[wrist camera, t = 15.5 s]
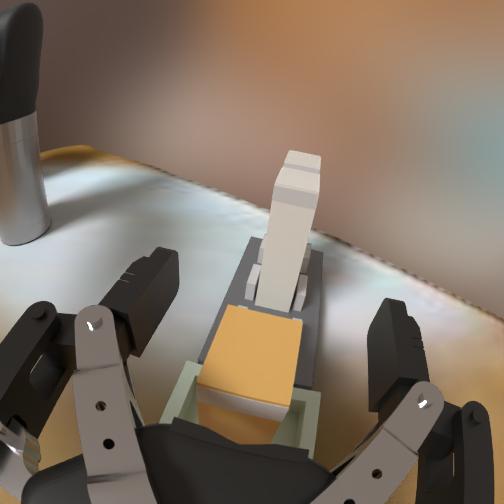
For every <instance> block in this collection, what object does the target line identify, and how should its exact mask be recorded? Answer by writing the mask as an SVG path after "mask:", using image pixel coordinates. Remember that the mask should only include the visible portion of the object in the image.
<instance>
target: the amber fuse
mask: <svg viewBox="0 0 504 504" xmlns="http://www.w3.org/2000/svg"><path fill="white" fill-rule="evenodd" d="M302 325H303V322H302V321H297V320H293V319H288V318H284V317H279V316H275V315H270V314H266V313H262V312H258V311H253V310H249V309H245V308H241V307H237V306H233V305H229V304H228V306H227V308H226V311H225V313H224V315H223V318H222V320H221V323H220V325H219V327H218V330H217V332H216V335H215V337H214V340H213V342H212V344H211V347H210V349H209V352H208V354H207V356H206V359H205V361H204V364H203V366H202V369H201V371H200V373H199V376H198V378H197V381H196V385H195V386H196V400H197V405H198V419H199V425H202V426H205V427H207V428H209V429H211V430H213V431H215V432H216V433H218V434H220V435H222V436H224V437H226V438H227V439H229V440H231V441H233V442H235V443H238V444H270V442H271V440H272V438H273V437H274V435H275V433H276V431H277V429H278V427H279V425H280V423H281V422H282V421H283V419H284V417H285V415H286V413H287V411H288V409H289V406H290V402H291V396H292V390H293V384H294V378H295V372H296V366H297V359H298V353H299V346H300V339H301V332H302Z"/></svg>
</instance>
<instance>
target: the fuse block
mask: <svg viewBox="0 0 504 504" xmlns="http://www.w3.org/2000/svg"><path fill="white" fill-rule="evenodd" d="M266 236H267V234H265V235H264V237H263V239H260V238H255V237H251V238H250V241H249V243H248V245H247V247H246V250H245V252H244V254H243V257H242V259H241V261H240V264H239V266H238V268H237V270H236V273H235V275H234V277H233V280H232V282H231V284H230V287H229V289H228V291H227V293H226V296H225V298H224V300H223V303H222V305H221V307H220V310H219V312H218V314H217V317H216V319H215V321H214V323H213V326H212V328H211V330H210V333H209V335H208V337H207V340H206V342H205V344H204V347H203V349H202V351H201V354H200V356H199V358H198V364H201V365H203V364H204V361H205V359H206V356H207V354H208V352H209V349H210V347H211V344H212V342H213V340H214V337H215V335H216V332H217V330H218V327H219V325H220V323H221V320H222V318H223V315H224V313H225V311H226V308H227V306H228V304H229V305H233V306H237V307H241V308H245V309H249V310H253V311H258V312H262V313H266V314H270V315H275V316H279V317H284V318H288V319H293V320H297V321H302V322H303V325H302V332H301V339H300V346H299V353H298V359H297V366H296V372H295V378H294V384H293V387H295V388H300V389H305V390H311V388H312V384H313V375H314V366H315V357H316V346H317V335H318V324H319V311H320V296H321V280H322V260H323V252H319V251H315V250H311V244H309V243H307V245H306V249H305V253H304V257H303V261H302V265H301V269H300V273H299V276H298V280H297V284H296V288H295V291H294V295H293V299H292V302H291V306H290V309H289V313H288V312H283V311H279V310H274V309H270V308H266V307H261V306H257V305H255V301H256V295H257V289H258V283H259V277H260V271H261V265H262V260H263V254H264V248H265V242H266Z"/></svg>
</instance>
